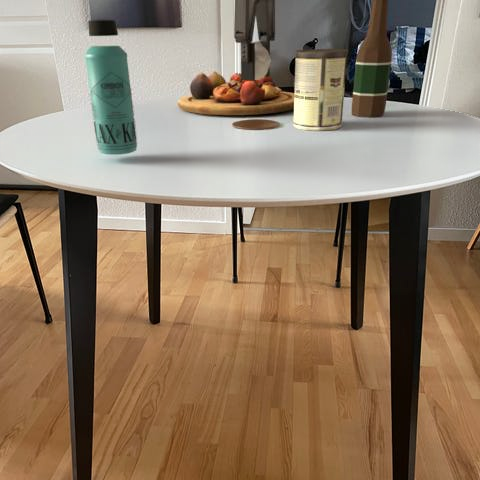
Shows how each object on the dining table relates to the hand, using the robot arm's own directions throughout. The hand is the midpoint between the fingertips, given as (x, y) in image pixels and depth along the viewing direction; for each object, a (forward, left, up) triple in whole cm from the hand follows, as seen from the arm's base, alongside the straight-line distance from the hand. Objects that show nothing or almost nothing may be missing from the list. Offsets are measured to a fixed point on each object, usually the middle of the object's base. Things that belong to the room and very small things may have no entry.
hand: (255, 78), depth 102 cm
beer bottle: (-18, -22, -9) cm, 30 cm away
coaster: (0, 0, -9) cm, 9 cm away
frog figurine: (0, 0, -1) cm, 1 cm away
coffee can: (-12, -4, -9) cm, 16 cm away
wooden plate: (+15, -21, -9) cm, 27 cm away
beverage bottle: (+8, +36, -9) cm, 38 cm away
